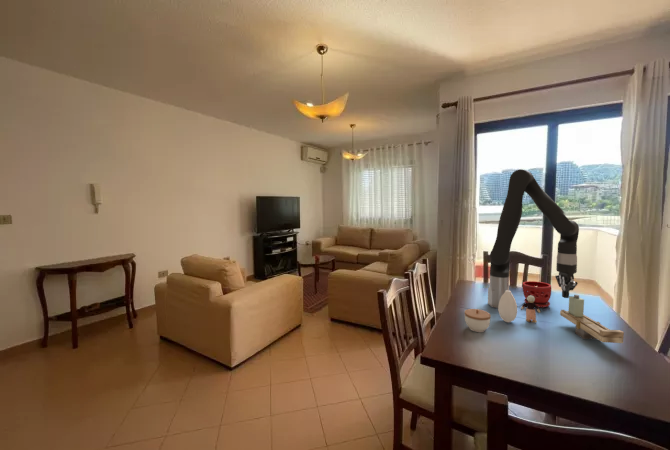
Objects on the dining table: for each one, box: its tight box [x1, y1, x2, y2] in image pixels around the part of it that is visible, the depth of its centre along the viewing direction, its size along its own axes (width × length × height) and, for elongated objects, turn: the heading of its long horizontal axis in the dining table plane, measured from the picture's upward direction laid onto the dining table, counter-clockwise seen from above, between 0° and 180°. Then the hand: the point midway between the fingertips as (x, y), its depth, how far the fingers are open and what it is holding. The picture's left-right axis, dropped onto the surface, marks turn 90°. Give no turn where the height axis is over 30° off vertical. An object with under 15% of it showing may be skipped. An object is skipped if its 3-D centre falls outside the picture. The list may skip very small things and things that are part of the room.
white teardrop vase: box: [497, 285, 518, 323], centre depth 136 cm, size 8×8×18 cm
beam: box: [559, 309, 625, 344], centre depth 121 cm, size 8×26×8 cm, turn 171°
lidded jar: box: [464, 308, 492, 333], centre depth 130 cm, size 11×11×9 cm
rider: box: [567, 294, 585, 317], centre depth 128 cm, size 4×4×9 cm
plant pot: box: [522, 280, 552, 308], centre depth 157 cm, size 13×13×12 cm
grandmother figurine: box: [520, 296, 541, 323], centre depth 137 cm, size 8×4×13 cm, turn 65°
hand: (565, 297), depth 136 cm, fingers closed
